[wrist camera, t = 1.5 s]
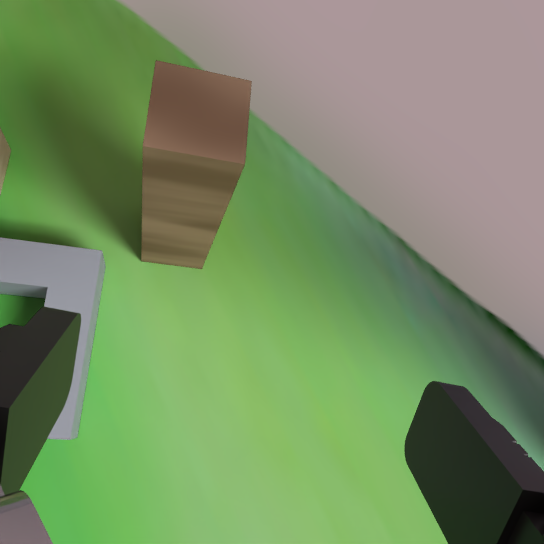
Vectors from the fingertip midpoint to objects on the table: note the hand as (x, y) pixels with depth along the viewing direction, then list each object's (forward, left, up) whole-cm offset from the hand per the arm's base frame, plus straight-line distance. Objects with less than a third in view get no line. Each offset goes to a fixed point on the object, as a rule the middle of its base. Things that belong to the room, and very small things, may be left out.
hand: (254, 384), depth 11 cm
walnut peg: (-2, -10, -19) cm, 22 cm away
